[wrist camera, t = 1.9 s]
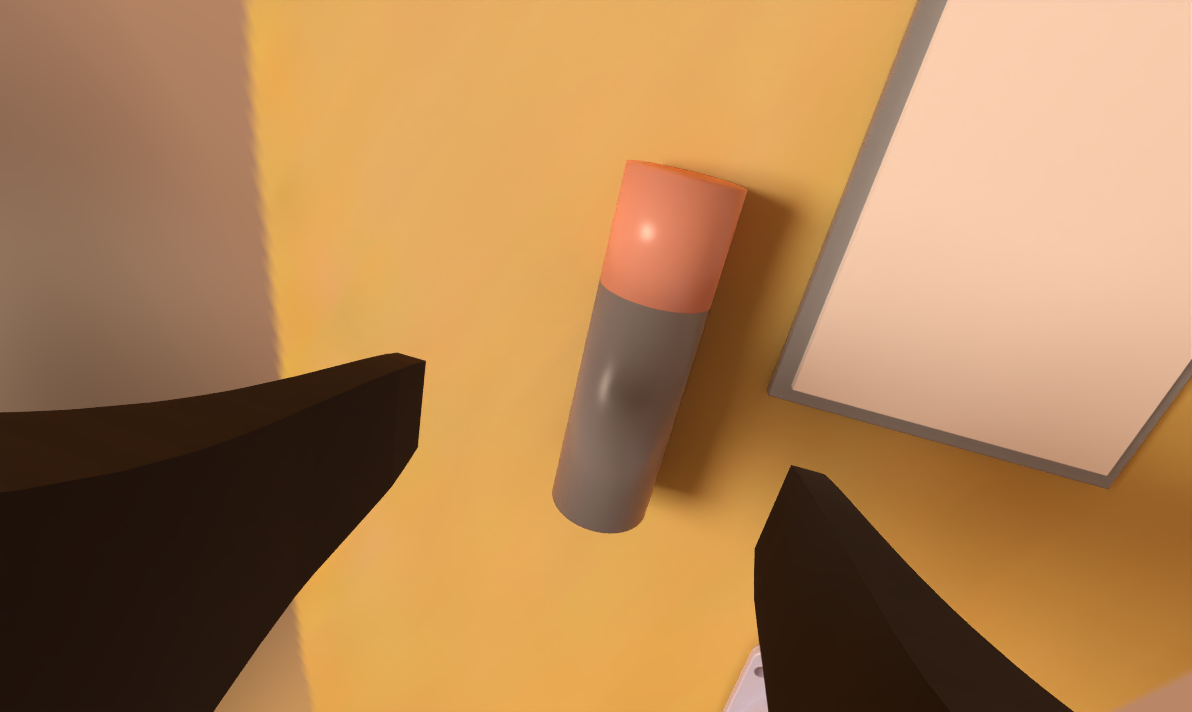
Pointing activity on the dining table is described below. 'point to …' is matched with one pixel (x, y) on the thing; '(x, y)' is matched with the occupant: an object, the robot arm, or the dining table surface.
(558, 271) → the dining table surface
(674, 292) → the marker
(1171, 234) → the notepad
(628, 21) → the dining table surface
